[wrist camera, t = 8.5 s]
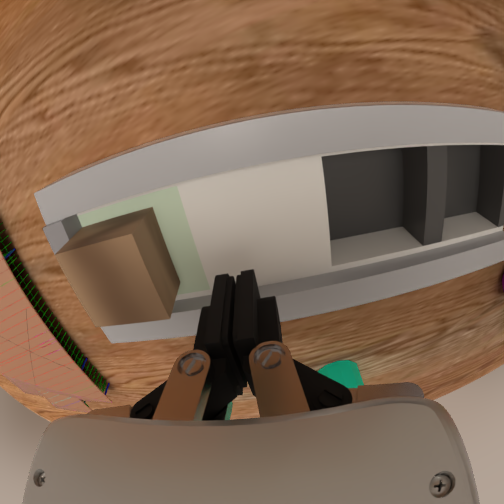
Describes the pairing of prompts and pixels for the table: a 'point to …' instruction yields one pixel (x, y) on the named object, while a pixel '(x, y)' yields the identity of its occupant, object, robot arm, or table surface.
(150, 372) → the table surface
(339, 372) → the candle
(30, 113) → the table surface
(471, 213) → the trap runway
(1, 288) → the house
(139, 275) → the walnut block
